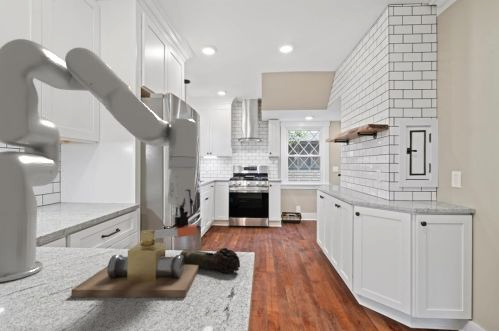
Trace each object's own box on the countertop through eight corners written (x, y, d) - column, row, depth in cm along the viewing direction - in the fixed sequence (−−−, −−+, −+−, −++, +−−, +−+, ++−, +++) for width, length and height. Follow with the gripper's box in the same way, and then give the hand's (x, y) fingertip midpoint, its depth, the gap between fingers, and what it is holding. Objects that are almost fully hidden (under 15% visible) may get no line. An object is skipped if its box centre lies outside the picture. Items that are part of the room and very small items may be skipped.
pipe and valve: (105, 283, 58) (105, 250, 58) (120, 271, 65) (120, 242, 65) (177, 283, 58) (177, 250, 59) (184, 271, 65) (185, 242, 65)
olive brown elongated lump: (178, 267, 72) (178, 247, 72) (192, 260, 78) (193, 241, 78) (234, 278, 65) (234, 255, 65) (245, 269, 71) (245, 248, 71)
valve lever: (142, 247, 60) (142, 233, 60) (139, 244, 62) (139, 230, 62) (197, 239, 67) (197, 226, 67) (192, 236, 70) (192, 224, 70)
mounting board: (71, 297, 54) (71, 289, 54) (109, 270, 69) (109, 264, 69) (185, 297, 54) (185, 289, 54) (198, 270, 69) (199, 264, 69)
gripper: (162, 164, 75) (161, 227, 74) (176, 163, 62) (174, 239, 62) (187, 165, 79) (186, 225, 78) (205, 164, 66) (204, 236, 65)
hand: (181, 231), depth 70 cm, fingers closed
